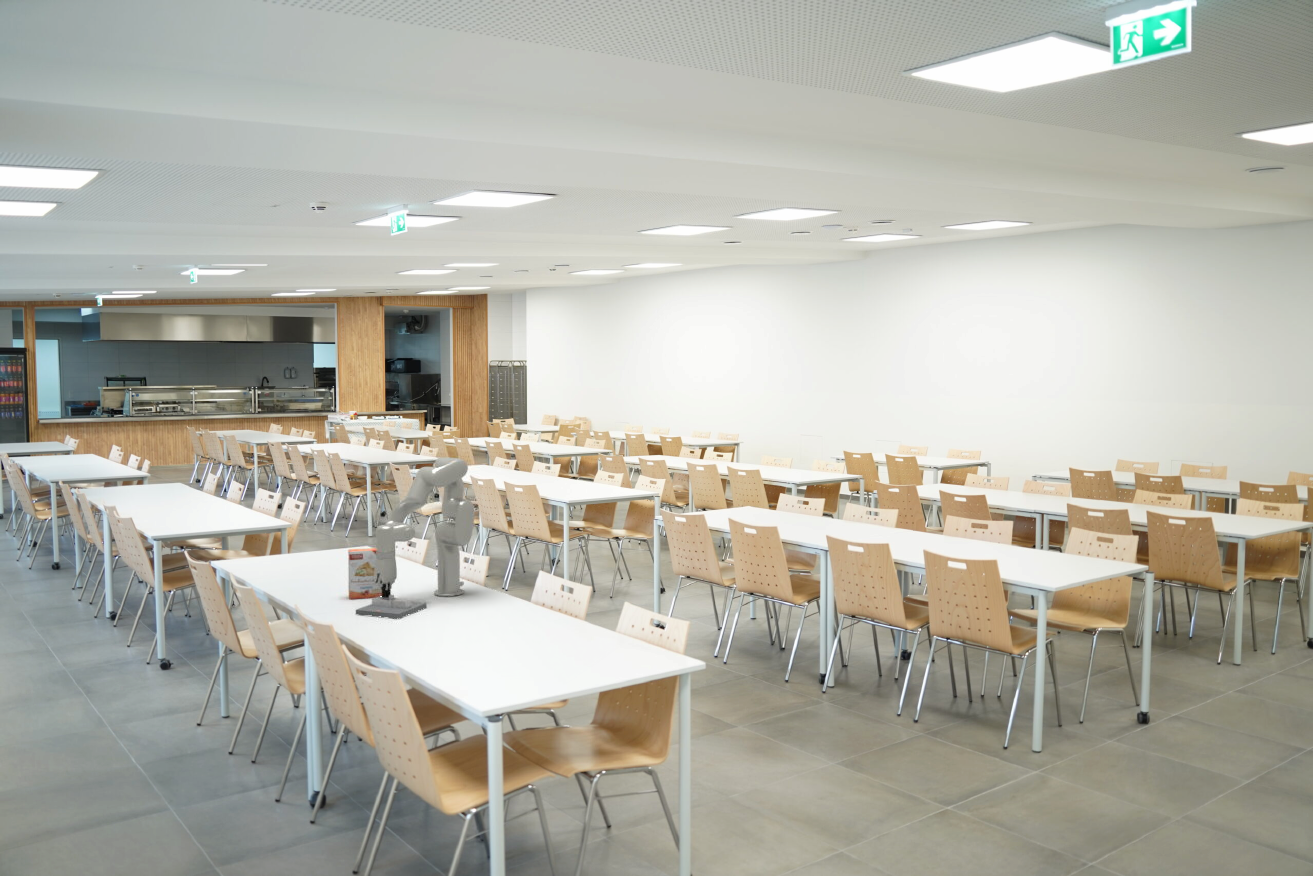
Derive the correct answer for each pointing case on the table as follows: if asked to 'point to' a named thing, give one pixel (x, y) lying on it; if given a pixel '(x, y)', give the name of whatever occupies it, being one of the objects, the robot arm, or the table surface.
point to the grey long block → (391, 602)
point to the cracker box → (362, 574)
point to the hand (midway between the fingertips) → (386, 599)
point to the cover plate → (390, 610)
